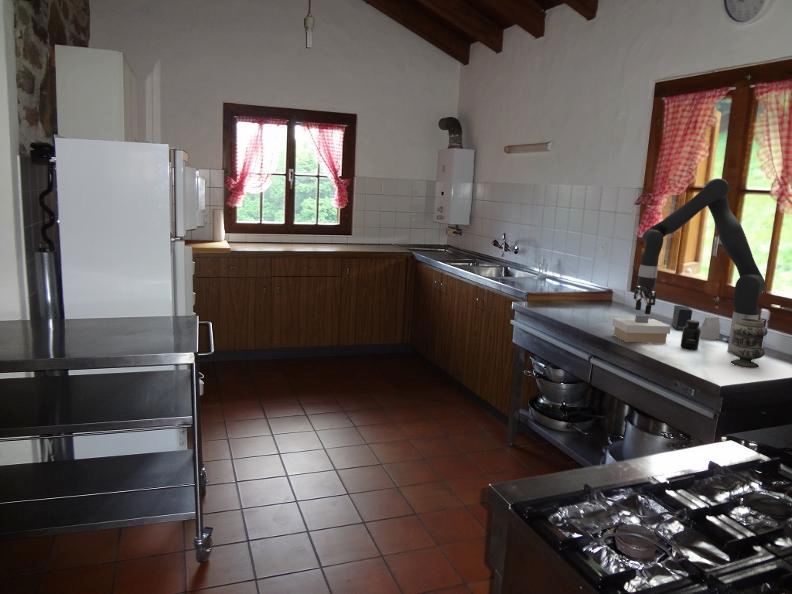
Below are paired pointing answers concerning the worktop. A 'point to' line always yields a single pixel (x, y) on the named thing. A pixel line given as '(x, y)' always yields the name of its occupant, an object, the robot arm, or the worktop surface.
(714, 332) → the printed product carton
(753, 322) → the apothecary jar
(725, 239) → the robot arm
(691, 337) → the supplement bottle
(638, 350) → the worktop surface
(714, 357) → the worktop surface
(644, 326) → the mailer lid
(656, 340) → the box
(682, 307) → the small box
